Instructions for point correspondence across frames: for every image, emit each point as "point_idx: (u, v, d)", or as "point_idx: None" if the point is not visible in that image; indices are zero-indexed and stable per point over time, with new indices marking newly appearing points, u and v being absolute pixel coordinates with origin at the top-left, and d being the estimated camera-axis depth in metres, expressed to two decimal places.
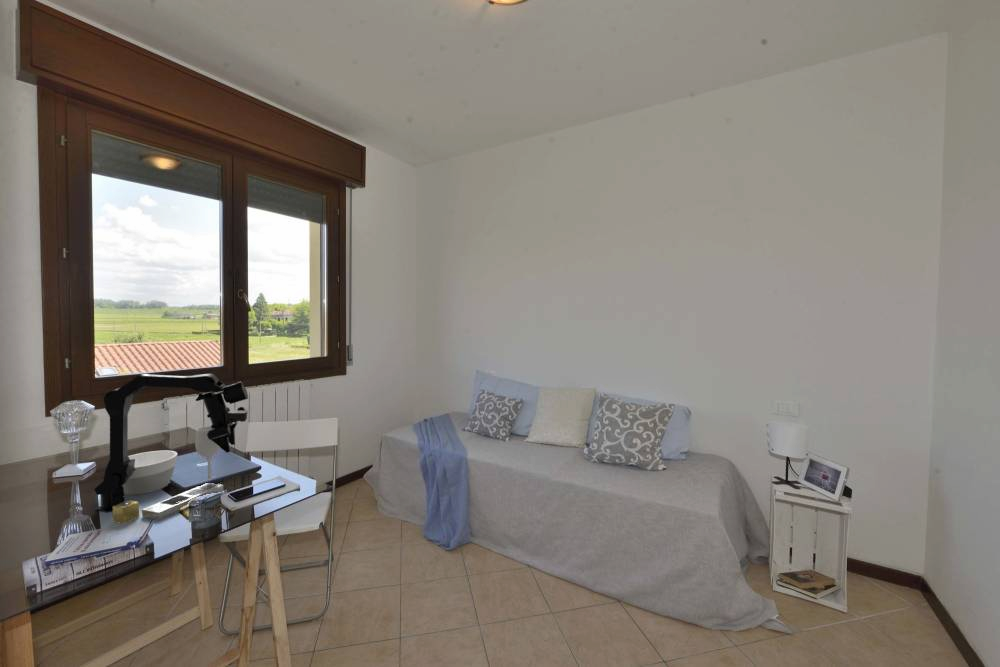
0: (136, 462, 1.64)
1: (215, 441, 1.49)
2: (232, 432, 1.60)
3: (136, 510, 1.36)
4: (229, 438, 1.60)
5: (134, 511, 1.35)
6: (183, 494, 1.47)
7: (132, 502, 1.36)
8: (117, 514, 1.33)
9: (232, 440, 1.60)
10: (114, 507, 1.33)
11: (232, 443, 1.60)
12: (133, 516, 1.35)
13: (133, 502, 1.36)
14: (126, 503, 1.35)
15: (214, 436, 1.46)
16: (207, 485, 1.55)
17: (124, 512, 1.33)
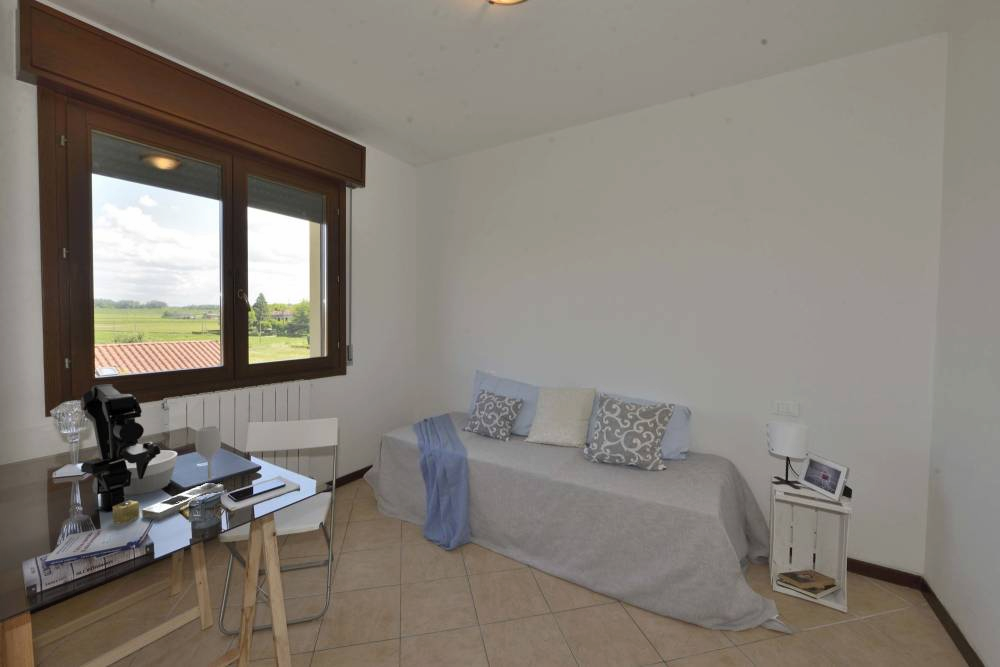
0: None
1: (94, 474, 1.29)
2: (142, 465, 1.39)
3: (136, 510, 1.36)
4: (139, 470, 1.39)
5: (134, 511, 1.35)
6: (183, 494, 1.47)
7: (132, 502, 1.36)
8: (117, 514, 1.33)
9: (140, 474, 1.39)
10: (114, 507, 1.33)
11: (139, 477, 1.39)
12: (133, 516, 1.35)
13: (133, 502, 1.36)
14: (126, 503, 1.35)
15: (84, 470, 1.26)
16: (207, 485, 1.55)
17: (124, 512, 1.33)
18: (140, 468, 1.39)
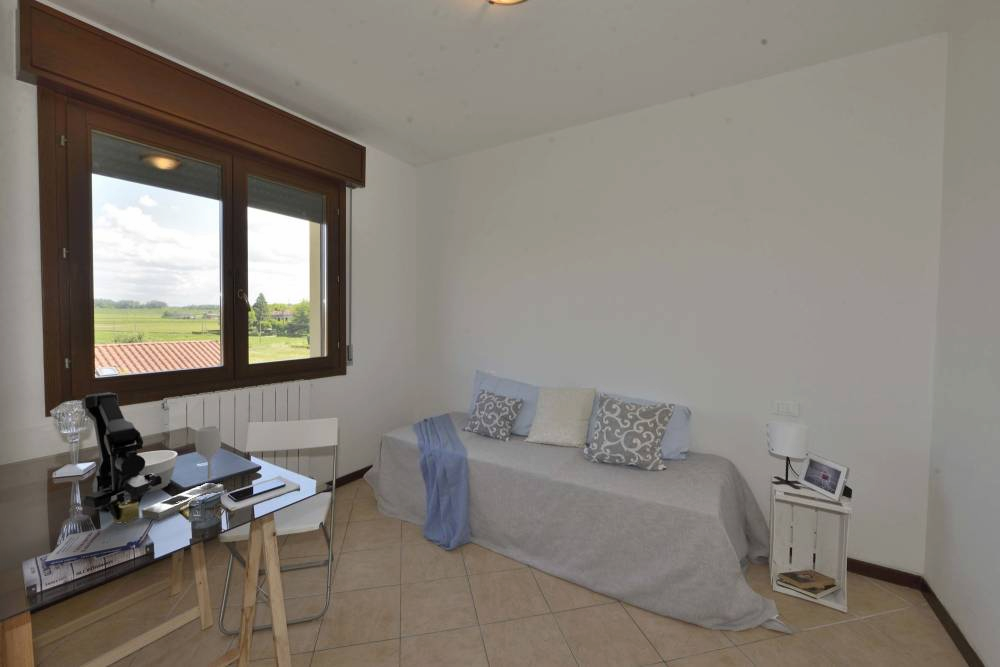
0: None
1: (104, 504, 1.32)
2: (137, 499, 1.37)
3: (136, 510, 1.36)
4: None
5: (134, 511, 1.35)
6: (183, 494, 1.47)
7: (132, 502, 1.36)
8: None
9: None
10: None
11: None
12: (133, 515, 1.35)
13: (133, 502, 1.36)
14: (126, 503, 1.35)
15: (86, 504, 1.26)
16: (207, 485, 1.55)
17: (124, 512, 1.33)
18: None
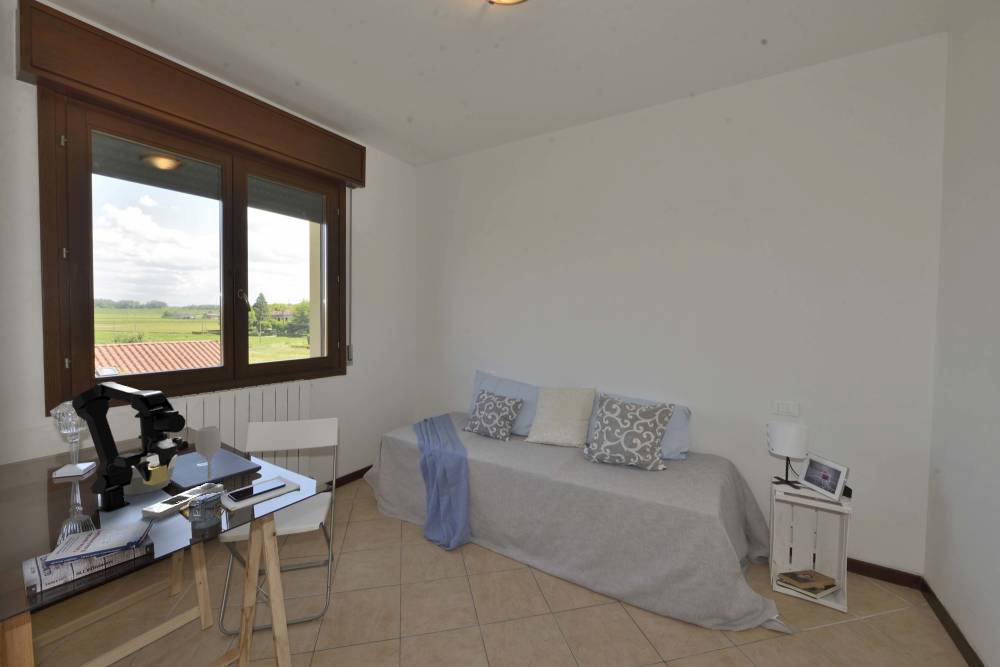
0: None
1: (135, 465, 1.35)
2: (165, 462, 1.41)
3: (164, 473, 1.40)
4: None
5: (162, 473, 1.39)
6: (183, 494, 1.47)
7: (161, 465, 1.40)
8: None
9: None
10: None
11: None
12: (161, 478, 1.39)
13: (161, 465, 1.40)
14: (155, 466, 1.39)
15: (117, 464, 1.30)
16: (207, 485, 1.55)
17: (153, 474, 1.36)
18: None
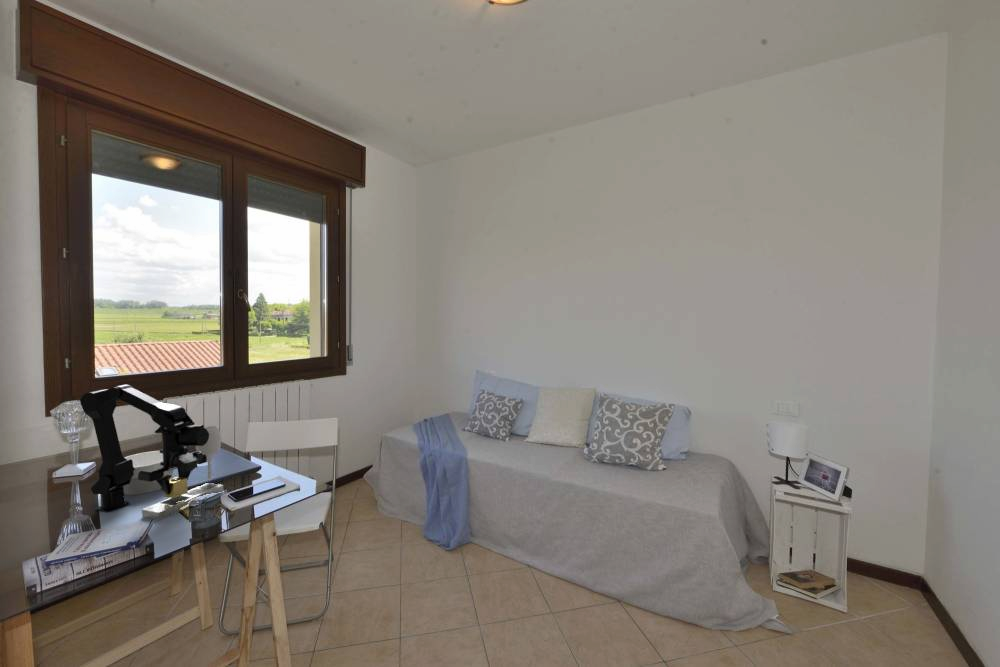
0: (136, 462, 1.64)
1: (156, 479, 1.39)
2: (185, 475, 1.45)
3: (185, 486, 1.44)
4: None
5: (183, 486, 1.43)
6: (183, 494, 1.47)
7: (181, 478, 1.44)
8: None
9: None
10: None
11: None
12: (182, 491, 1.43)
13: (182, 478, 1.44)
14: (175, 479, 1.43)
15: (141, 478, 1.34)
16: (207, 485, 1.55)
17: (174, 487, 1.40)
18: None
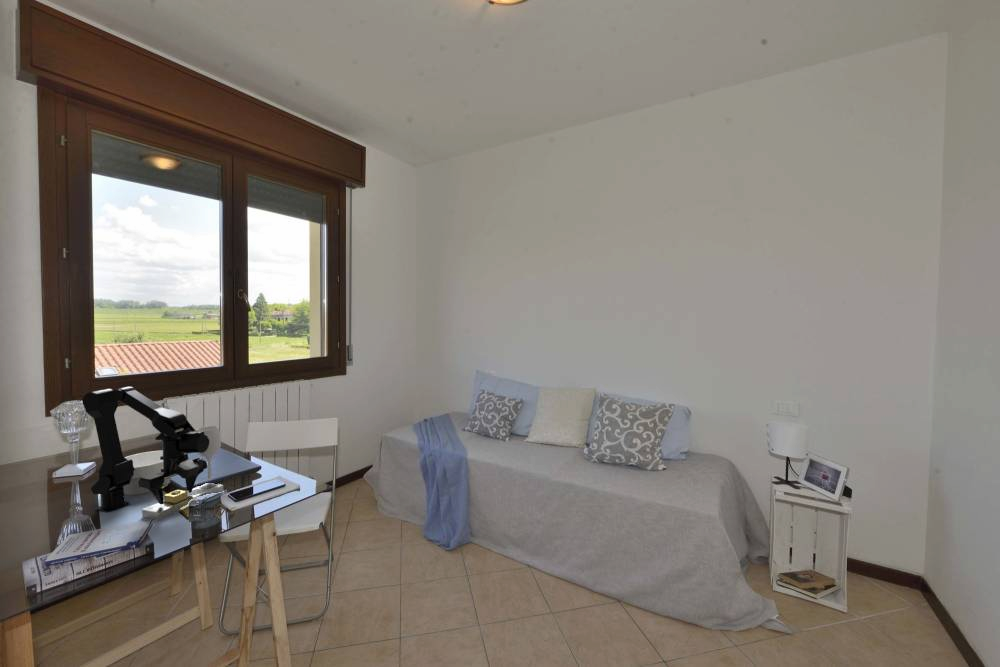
0: (136, 462, 1.64)
1: (149, 489, 1.37)
2: (191, 479, 1.47)
3: (185, 499, 1.44)
4: (188, 484, 1.47)
5: (184, 500, 1.43)
6: None
7: (181, 491, 1.44)
8: (168, 502, 1.41)
9: (189, 488, 1.47)
10: (165, 496, 1.41)
11: (188, 491, 1.47)
12: None
13: (182, 491, 1.44)
14: (176, 492, 1.43)
15: (141, 485, 1.34)
16: (207, 485, 1.55)
17: (175, 500, 1.41)
18: (189, 482, 1.47)
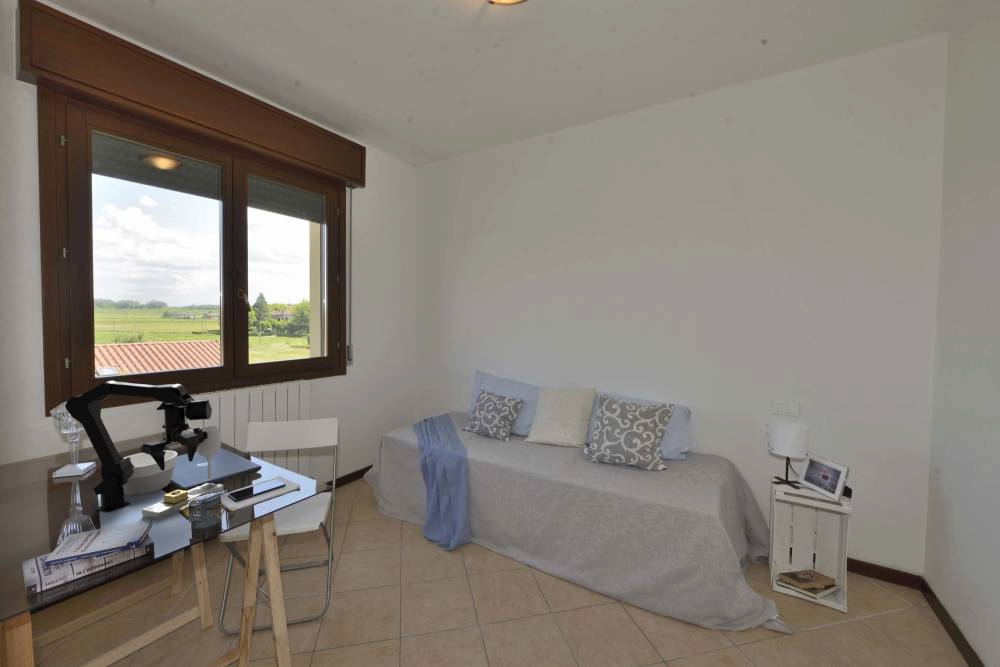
0: (136, 462, 1.64)
1: (152, 455, 1.43)
2: (192, 449, 1.53)
3: (185, 499, 1.44)
4: (189, 453, 1.53)
5: (184, 500, 1.43)
6: None
7: (181, 491, 1.44)
8: (168, 502, 1.41)
9: (190, 457, 1.53)
10: (165, 496, 1.41)
11: (189, 459, 1.53)
12: None
13: (182, 491, 1.44)
14: (176, 492, 1.43)
15: (143, 451, 1.40)
16: (207, 485, 1.55)
17: (175, 500, 1.41)
18: (190, 451, 1.53)
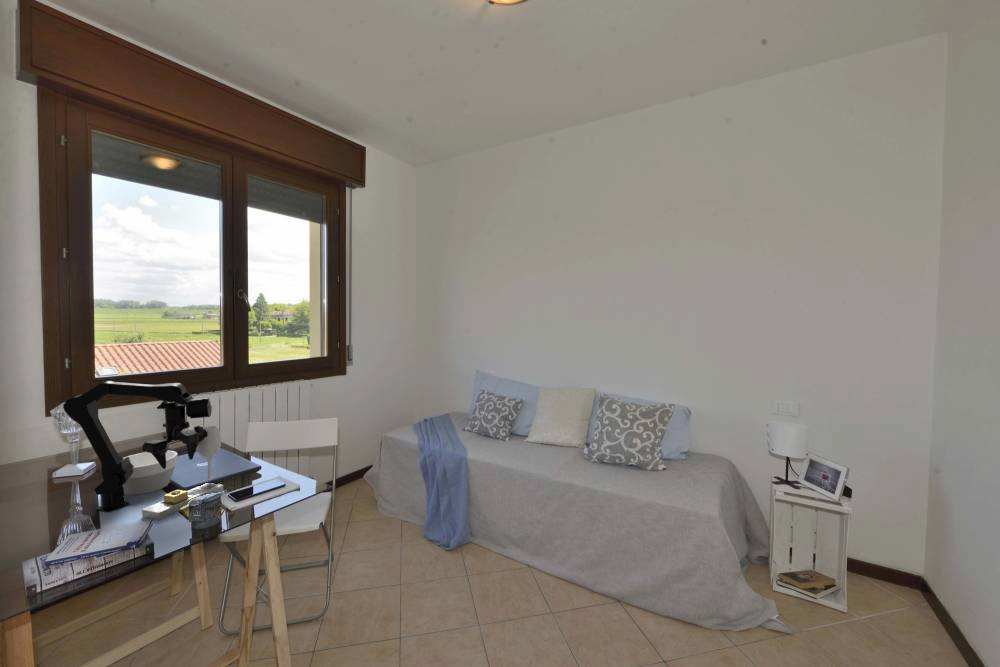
0: (136, 462, 1.64)
1: (153, 453, 1.45)
2: (192, 447, 1.54)
3: (185, 499, 1.44)
4: (189, 451, 1.55)
5: (184, 500, 1.43)
6: None
7: (181, 491, 1.44)
8: (168, 502, 1.41)
9: (190, 455, 1.54)
10: (165, 496, 1.41)
11: (190, 458, 1.55)
12: None
13: (182, 491, 1.44)
14: (176, 492, 1.43)
15: (145, 450, 1.41)
16: (207, 485, 1.55)
17: (175, 500, 1.41)
18: (190, 449, 1.55)
